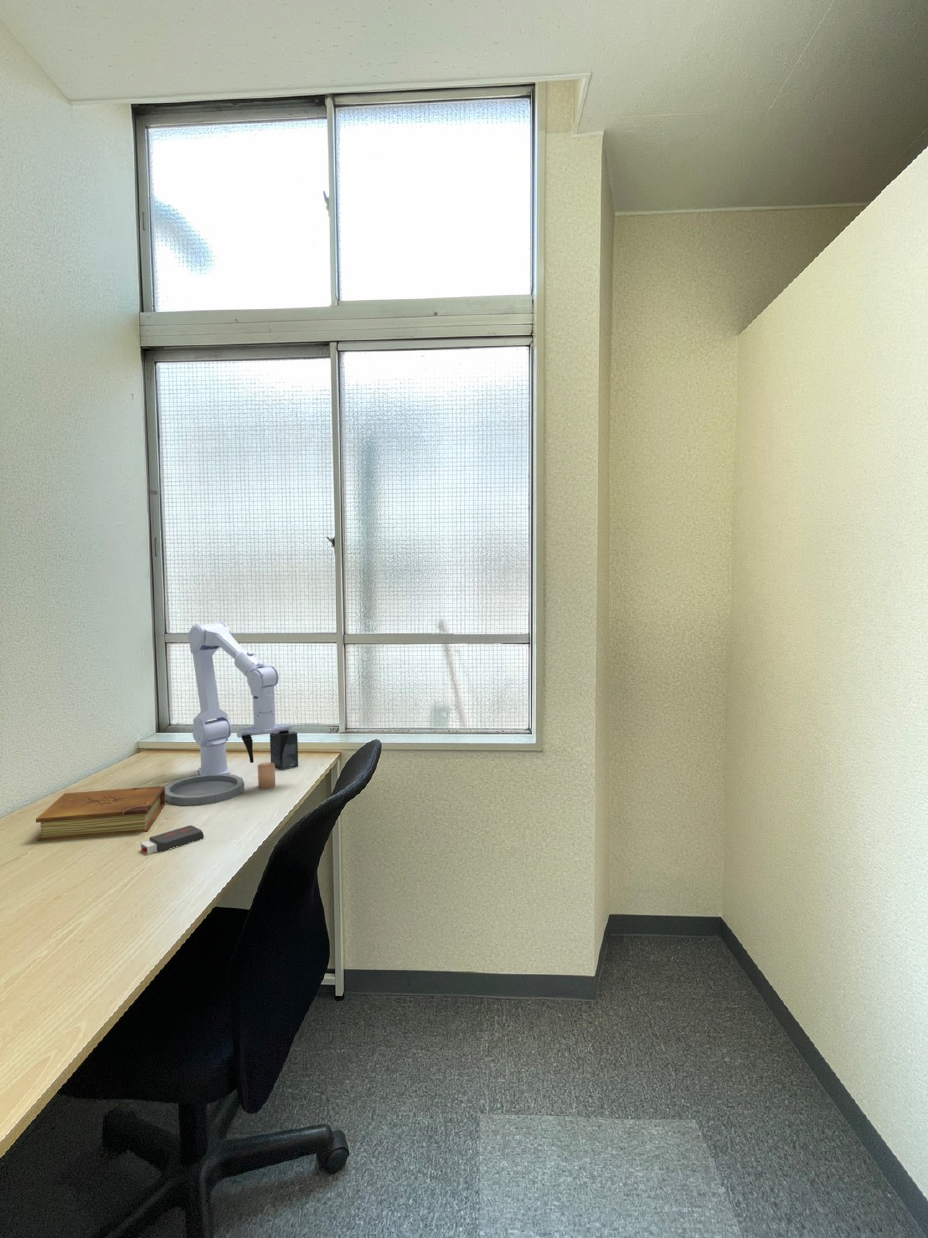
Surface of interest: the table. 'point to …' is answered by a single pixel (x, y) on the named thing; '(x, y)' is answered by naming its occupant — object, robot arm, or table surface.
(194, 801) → the round tray
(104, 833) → the diary
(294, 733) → the box
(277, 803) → the table surface
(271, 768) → the terracotta rounded cylinder
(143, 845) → the usb drive
